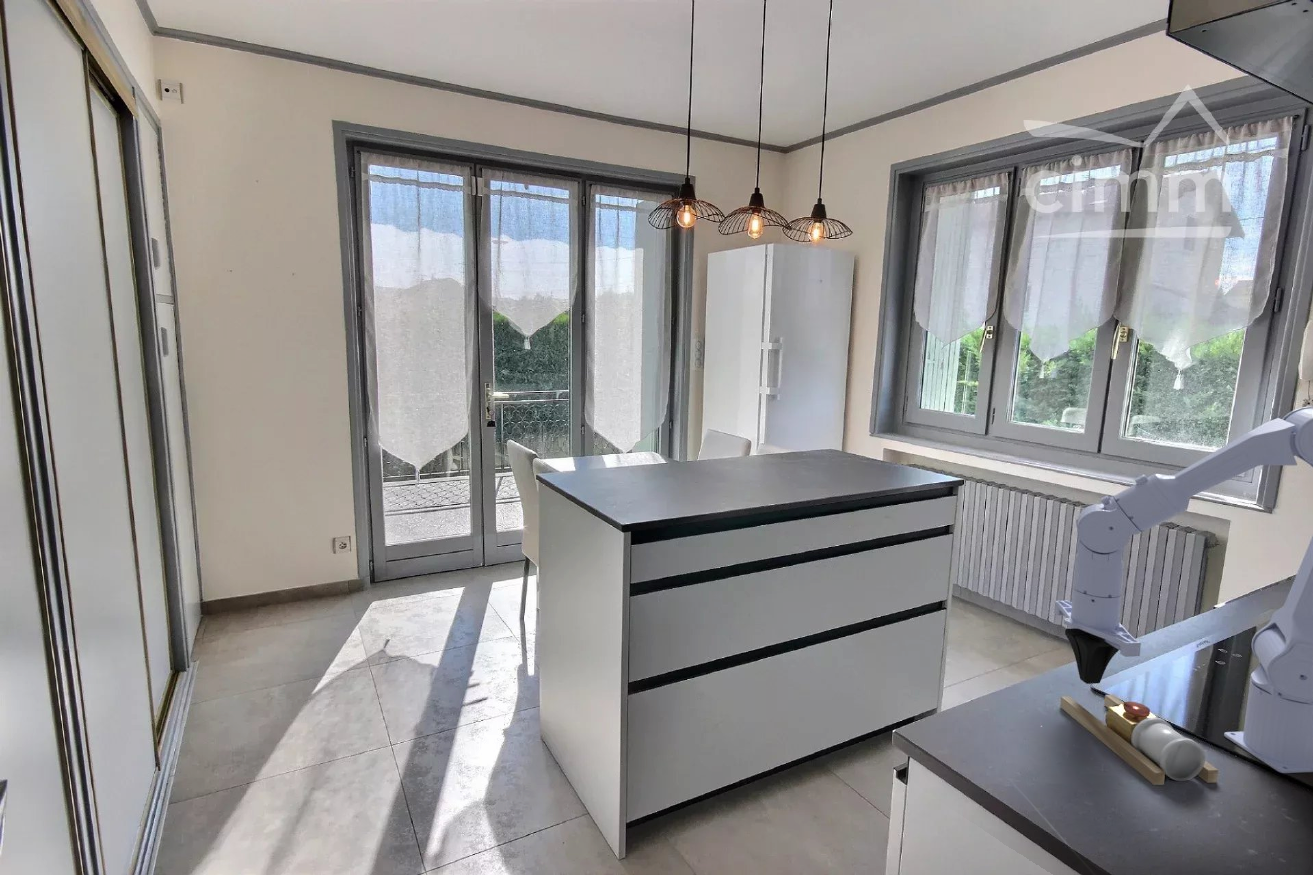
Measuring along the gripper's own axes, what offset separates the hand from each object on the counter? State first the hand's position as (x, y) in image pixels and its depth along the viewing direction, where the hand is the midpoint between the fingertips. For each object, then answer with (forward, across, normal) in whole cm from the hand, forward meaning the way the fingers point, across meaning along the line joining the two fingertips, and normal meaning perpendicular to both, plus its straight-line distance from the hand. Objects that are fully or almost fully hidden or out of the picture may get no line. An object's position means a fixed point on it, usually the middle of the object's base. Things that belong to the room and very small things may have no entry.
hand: (1089, 681), depth 95 cm
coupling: (+4, +14, 0) cm, 14 cm away
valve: (+4, +9, 0) cm, 10 cm away
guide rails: (+4, +8, 0) cm, 9 cm away
